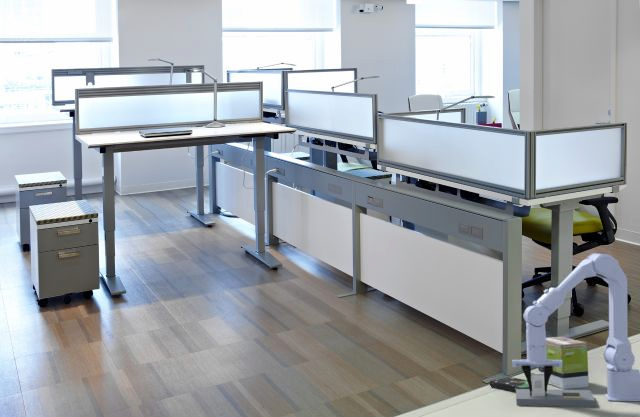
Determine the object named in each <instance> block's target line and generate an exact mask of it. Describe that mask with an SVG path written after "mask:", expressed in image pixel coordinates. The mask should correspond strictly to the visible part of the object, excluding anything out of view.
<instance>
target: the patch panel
mask: <svg viewBox="0 0 640 417" xmlns="http://www.w3.org/2000/svg"><path fill="white" fill-rule="evenodd" d="M515 398H516V399H515V400H516V406H519V407H521V406H523V407H524V406H526V407H530V406H531V407H533V406H534V407H563V408H564V407H566V408H567V407H569V408H576V407H577V408H596V399H595V397H594V396H593V393H592V392H591V390H590V389H548V388H547V392H545V396H532V392H530V389H516V393H515Z"/></svg>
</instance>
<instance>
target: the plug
mask: <svg viewBox="0 0 640 417" xmlns="http://www.w3.org/2000/svg"><path fill="white" fill-rule="evenodd" d="M531 383H532V396H545V386H544V373H538V372H531Z"/></svg>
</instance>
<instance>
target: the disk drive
mask: <svg viewBox="0 0 640 417" xmlns="http://www.w3.org/2000/svg"><path fill="white" fill-rule="evenodd" d="M526 382H527V383H526ZM490 386H491V387H492V388H491V389H495V390H501V391H504V392H509V393H513V394H516V389H529V384H528V381H527V379H524V378H523V379H522V378H518V377H510V376H509V377H506V378H504V377H503V378H498V379H497V380H496V379H493V380H489V387H490Z"/></svg>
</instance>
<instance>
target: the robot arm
mask: <svg viewBox="0 0 640 417" xmlns="http://www.w3.org/2000/svg"><path fill="white" fill-rule="evenodd" d="M596 276H598V277H600V278H601V279H602V280H603V281H604V282H606V283H607V284H608V338H607V340H606V346H605V348H604V349H603V354H602V355H603V359H604V361H605V362H606V388H607V390H606V391H607V393H605V394H604V396H605V397H606V399H607V401H609V402H640V369H635V368H633V366H634V365H635V361H636V360H635V355H634V353H633V350H632V344H631V341H630V340H629V337H628V330H629V329H628V278H627V276H626V274H625V272H624V271H623V268H621V266H620V263H619V260H618V259H616V258H615V257H613V256H612V255H611V254H607V253H603V254H602V253H597V252H593V253H590V254H589V255H588V256H587V257H586V258H584V259H583V260H581V261H580V263H579V264H578V265H577V266H575V268H574V269H573V270H572V271H571V272H570V273H569V274H568V276H566V277H565V279H563V280H562V282H560V284H558V286H557V287H550V288H549V289H548V288H546V289H545V290H543V293H544V294H542V295H541V296H540V297H539V298H538V299H537V300H533V302H532V304H533V305H530V306H528V307H525V308H526V309H525V310H524V312H523V315H522V317H523V319H524V321H525V326H526V328H525V329H526V330H525V336H526V337H525V340H526V359H512V361H511V362H512V368H516V367H518V368H519V367H520V368H522V369H521V370H522V372H523V374H524V376H525V378H526V379H525V380H527V381H528V384H529V389H530V392H532V383H531V373H532V370H531V369H532V368H538V367H544V386H545V392H547V389H548V385H549V384H548V382H549V379H550V376H551V374H552V371H553V367H559V368H562V360H549V359H547V353H546V338H547V337H546V336H547V334H546V332H547V331H546V323H547V322H548V318H549V316H551V315H552V314H553V313H555V311H556V310H557V309H559V307H561V305H562V304H564V302H565V299H566V298H565V297H566V295H567V294H568V293H570V292H571V290H573V289H574V288H575V287H576V286H577V285H579V284H580V283H581V282H582V281H583V280H584V279H587V278H592V277H596Z"/></svg>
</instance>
